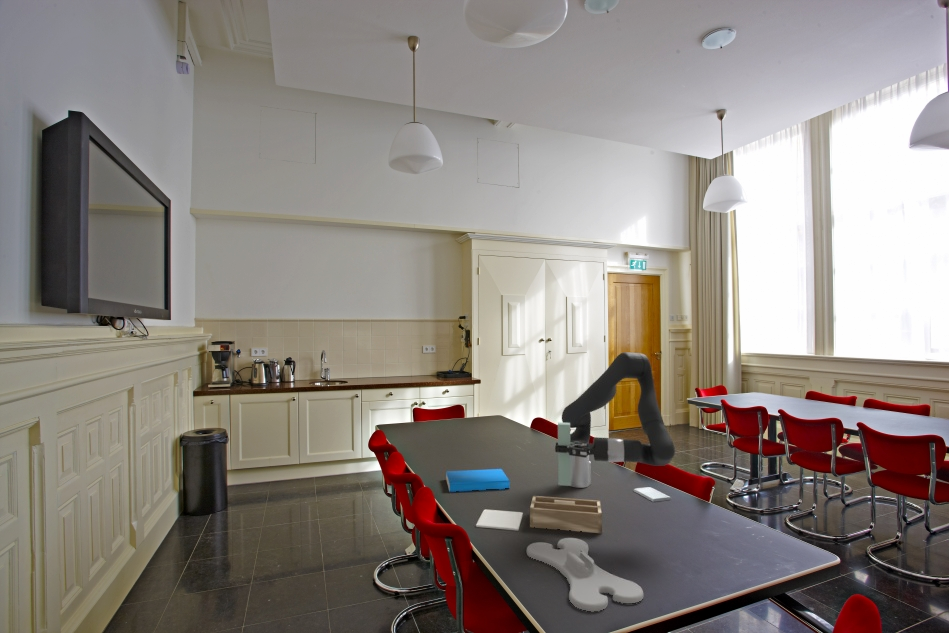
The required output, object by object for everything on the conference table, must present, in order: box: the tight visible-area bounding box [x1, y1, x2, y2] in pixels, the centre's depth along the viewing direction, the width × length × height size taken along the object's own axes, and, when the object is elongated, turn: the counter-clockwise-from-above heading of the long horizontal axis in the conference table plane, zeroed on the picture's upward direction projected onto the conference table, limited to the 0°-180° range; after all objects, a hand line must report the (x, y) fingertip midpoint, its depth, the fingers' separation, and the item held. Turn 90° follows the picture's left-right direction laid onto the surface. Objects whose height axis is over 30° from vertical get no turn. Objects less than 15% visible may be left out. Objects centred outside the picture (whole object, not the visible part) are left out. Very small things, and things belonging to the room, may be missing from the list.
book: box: [445, 468, 511, 493], centre depth 198 cm, size 17×4×25 cm
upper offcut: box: [554, 500, 575, 504], centre depth 160 cm, size 4×7×3 cm, turn 78°
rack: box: [529, 495, 603, 534], centre depth 157 cm, size 12×23×6 cm, turn 78°
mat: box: [475, 509, 524, 531], centre depth 159 cm, size 14×14×1 cm
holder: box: [526, 537, 644, 613], centre depth 125 cm, size 19×34×5 cm, turn 18°
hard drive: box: [633, 486, 672, 503], centre depth 184 cm, size 2×8×12 cm
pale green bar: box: [557, 421, 572, 487], centre depth 156 cm, size 4×4×20 cm
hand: (555, 447), depth 156 cm, fingers closed on pale green bar, 3 cm apart
